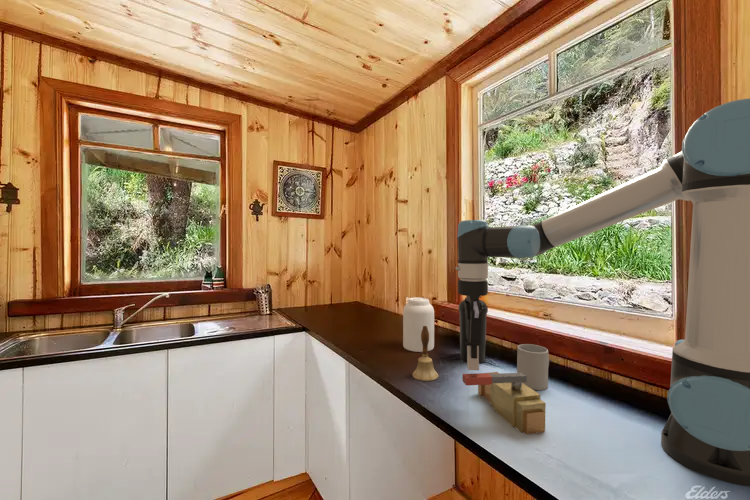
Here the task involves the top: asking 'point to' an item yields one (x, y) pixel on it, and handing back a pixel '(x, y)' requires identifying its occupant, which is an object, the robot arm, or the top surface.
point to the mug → (533, 365)
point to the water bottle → (463, 332)
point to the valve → (516, 406)
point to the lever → (496, 379)
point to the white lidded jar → (417, 323)
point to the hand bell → (425, 361)
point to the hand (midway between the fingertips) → (473, 368)
